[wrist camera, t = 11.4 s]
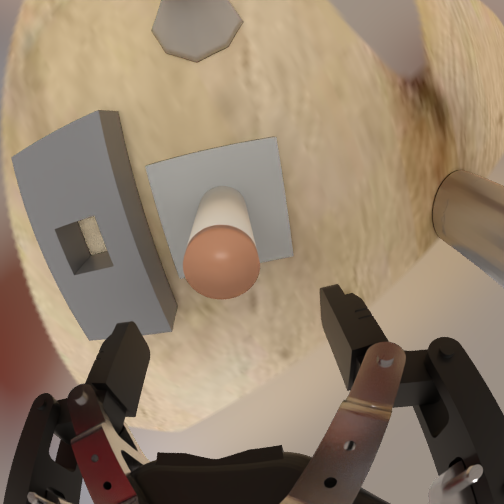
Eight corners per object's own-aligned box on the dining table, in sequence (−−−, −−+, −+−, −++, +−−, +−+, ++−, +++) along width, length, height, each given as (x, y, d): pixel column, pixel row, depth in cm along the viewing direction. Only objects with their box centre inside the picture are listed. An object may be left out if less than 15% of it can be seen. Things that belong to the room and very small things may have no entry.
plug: (241, 181, 22) (252, 224, 13) (250, 225, 24) (265, 291, 15) (193, 191, 22) (172, 241, 13) (205, 235, 24) (195, 305, 15)
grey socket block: (118, 111, 19) (98, 110, 15) (177, 306, 28) (172, 331, 24) (35, 150, 19) (11, 157, 15) (100, 317, 28) (89, 340, 24)
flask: (258, 22, 17) (279, -35, 8) (197, 76, 18) (176, 42, 10) (197, -18, 14) (185, -80, 5) (138, 34, 16) (89, -9, 7)
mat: (274, 136, 21) (276, 136, 21) (292, 253, 26) (293, 256, 26) (147, 165, 21) (145, 166, 21) (180, 275, 26) (179, 278, 26)
